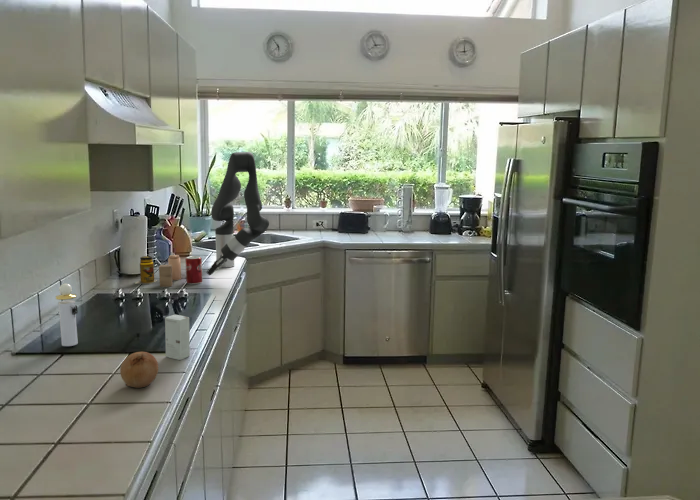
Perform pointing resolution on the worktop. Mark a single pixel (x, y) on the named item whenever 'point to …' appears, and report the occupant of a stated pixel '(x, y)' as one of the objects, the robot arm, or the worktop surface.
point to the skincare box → (177, 337)
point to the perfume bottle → (67, 316)
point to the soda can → (193, 270)
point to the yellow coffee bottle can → (146, 270)
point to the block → (165, 275)
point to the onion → (139, 369)
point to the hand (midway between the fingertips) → (208, 273)
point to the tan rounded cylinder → (175, 266)
